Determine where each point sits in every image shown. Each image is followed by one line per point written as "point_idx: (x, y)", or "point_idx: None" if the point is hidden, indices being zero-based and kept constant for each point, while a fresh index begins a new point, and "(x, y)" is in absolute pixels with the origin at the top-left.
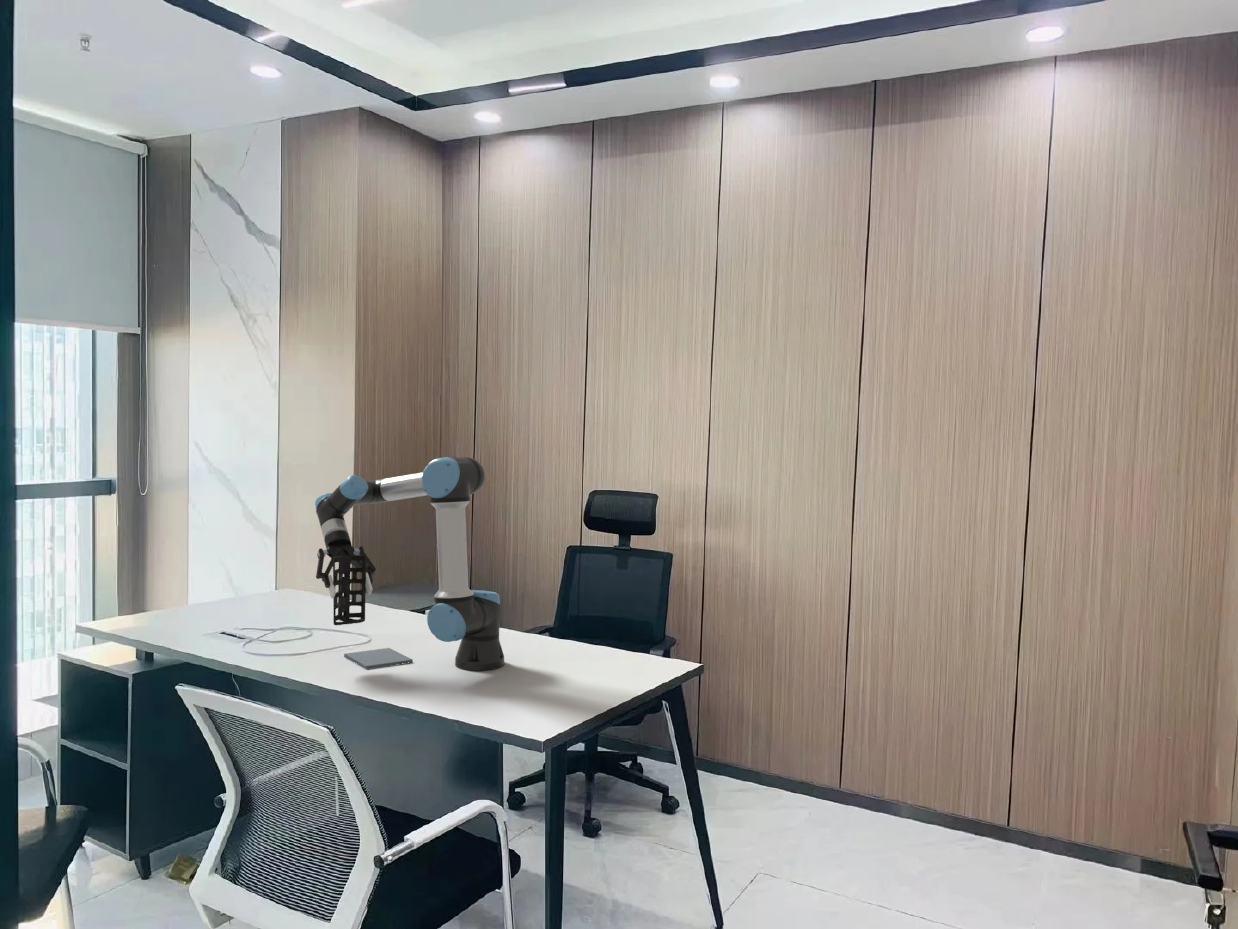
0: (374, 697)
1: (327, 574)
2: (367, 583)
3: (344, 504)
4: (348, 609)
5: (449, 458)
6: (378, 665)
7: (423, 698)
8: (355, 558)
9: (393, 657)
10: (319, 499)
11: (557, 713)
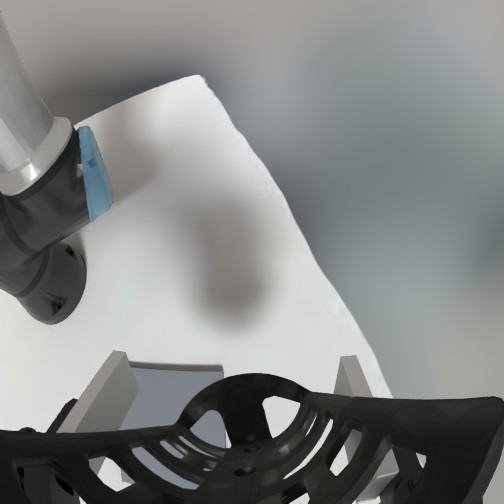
0: (277, 193)
1: (407, 480)
2: (105, 400)
3: None
4: (229, 455)
5: None
6: (193, 371)
7: (217, 166)
8: None
9: (142, 406)
10: None
11: (143, 104)
